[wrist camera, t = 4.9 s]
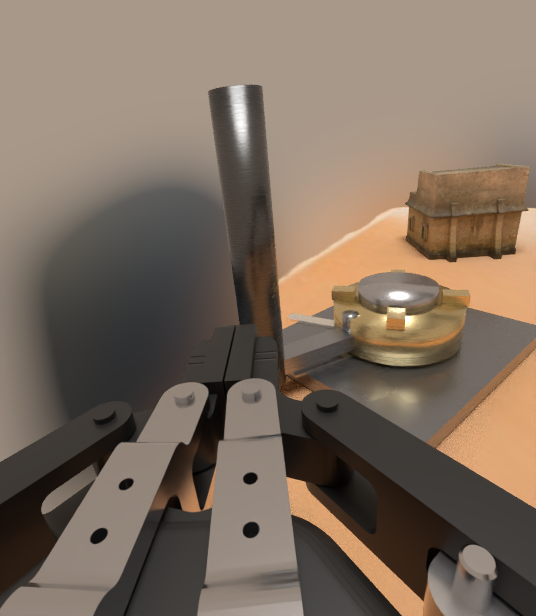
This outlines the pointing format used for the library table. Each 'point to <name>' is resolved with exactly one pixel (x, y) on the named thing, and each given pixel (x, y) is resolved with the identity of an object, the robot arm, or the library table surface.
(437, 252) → the miniature house
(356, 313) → the rod with disc
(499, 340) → the housing plate
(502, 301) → the library table surface
